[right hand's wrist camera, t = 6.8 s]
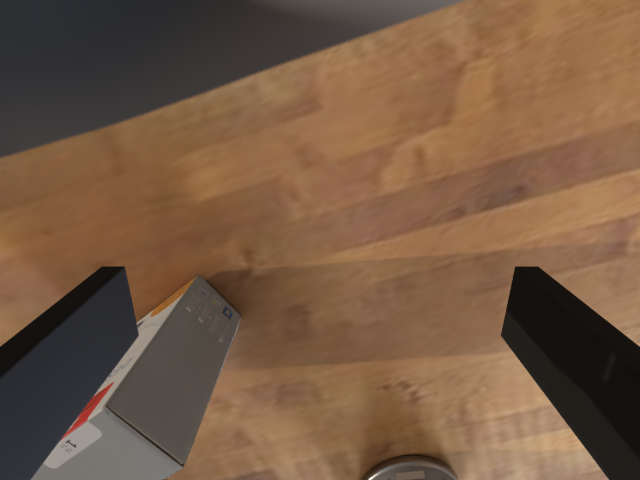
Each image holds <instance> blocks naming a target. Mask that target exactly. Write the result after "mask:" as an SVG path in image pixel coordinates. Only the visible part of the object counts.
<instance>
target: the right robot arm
mask: <svg viewBox="0 0 640 480" xmlns="http://www.w3.org/2000/svg"><path fill="white" fill-rule="evenodd" d="M138 336H139V333H138V328H137V323H136V319H135V314H134V309H133V304H132V299H131V294H130V290H129V285H128V280H127V275H126V270H125V267H101V268H100V269H98V270H97V271H96V272H95V273H93V274H92V275H91V276H89V277H88V278H87V279H86V280H84V281H83V282H82V283H81V284H79V285H78V286H77V287H76V288H74V289H73V290H72V291H70V292H69V293H68V294H67V295H65V296H64V297H63V298H62V299H60V300H59V301H58V302H57V303H55V304H54V305H53V306H51V307H50V308H49V309H48V310H46V311H45V312H44V313H43V314H41V315H40V316H39V317H37V318H36V319H35V320H34V321H32V322H31V323H30V324H29V325H27V326H26V327H25V328H24V329H22V330H21V331H20V332H18V333H17V334H16V335H15V336H13V337H12V338H11V339H10V340H8V341H7V342H6V343H5V344H3V345H2V346H1V347H0V480H31V479H32V477H33V476H34V475H35V473H36V472H37V471H38V469H39V468H40V467H41V465H42V464H43V463H44V461H45V460H46V459H47V457H48V456H49V455H50V453H51V452H52V451H53V449H54V448H55V447H56V445H57V444H58V443H59V441H60V440H61V439H62V437H63V436H64V435H65V433H66V432H67V431H68V430H69V428H70V427H71V426H72V424H73V423H74V422H75V420H76V419H77V418H78V416H79V415H80V414H81V412H82V411H83V410H84V408H85V407H86V406H87V404H88V403H89V402H90V400H91V399H92V398H93V396H94V395H95V394H96V392H97V391H98V390H99V388H100V387H101V386H102V384H103V383H104V382H105V380H106V379H107V378H108V376H109V375H110V374H111V372H112V371H113V370H114V368H115V367H116V366H117V364H118V363H119V362H120V360H121V359H122V358H123V356H124V355H125V354H126V352H127V351H128V350H129V348H130V347H131V346H132V344H133V343H134V342H135V340H136V339H137V338H138ZM501 336H502V338H503V339H504V340H505V342H506V343H507V344H508V346H509V347H510V348H511V350H512V351H513V352H514V354H515V355H516V356H517V358H518V359H519V360H520V362H521V363H522V364H523V366H524V367H525V368H526V370H527V371H528V372H529V374H530V375H531V376H532V378H533V379H534V380H535V382H536V383H537V384H538V386H539V387H540V388H541V390H542V391H543V392H544V394H545V395H546V396H547V398H548V399H549V400H550V402H551V403H552V404H553V406H554V407H555V408H556V410H557V411H558V412H559V414H560V415H561V416H562V418H563V419H564V420H565V422H566V423H567V424H568V426H569V427H570V428H571V430H572V431H573V432H574V434H575V435H576V436H577V437H578V439H579V440H580V441H581V443H582V444H583V445H584V447H585V448H586V449H587V451H588V452H589V453H590V455H591V456H592V457H593V459H594V460H595V461H596V463H597V464H598V465H599V467H600V468H601V469H602V471H603V472H604V473H605V475H606V476H607V477H608V479H609V480H640V347H639V346H638V345H637V344H635V343H634V342H633V341H632V340H630V339H629V338H628V337H627V336H625V335H624V334H623V333H622V332H620V331H619V330H618V329H616V328H615V327H614V326H613V325H611V324H610V323H609V322H608V321H606V320H605V319H604V318H602V317H601V316H600V315H599V314H597V313H596V312H595V311H594V310H592V309H591V308H590V307H589V306H587V305H586V304H585V303H583V302H582V301H581V300H580V299H578V298H577V297H576V296H575V295H573V294H572V293H571V292H570V291H568V290H567V289H566V288H564V287H563V286H562V285H561V284H559V283H558V282H557V281H556V280H554V279H553V278H552V277H551V276H549V275H548V274H547V273H545V272H544V271H543V270H542V269H540V268H539V267H515V270H514V275H513V280H512V285H511V290H510V294H509V299H508V304H507V309H506V314H505V319H504V323H503V328H502V333H501ZM362 480H458V478H457V476H456V474H455V473H454V471H453V470H452V469H451V468H450V467H449V466H447V465H446V464H444V463H443V462H441V461H439V460H436V459H433V458H430V457H425V456H414V455H412V456H401V457H396V458H392V459H389V460H386V461H384V462H382V463H380V464H378V465H376V466H375V467H373V468H372V469H371V470H370V471H369V472H367V474H366V475H365V476H364V477H363V479H362Z"/></svg>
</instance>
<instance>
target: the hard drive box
mask: <svg viewBox="0 0 640 480" xmlns="http://www.w3.org/2000/svg"><path fill="white" fill-rule="evenodd" d="M240 317H241V316H240V315H239V314H238V313H237V311H236V310H235V309H233V308H232V307H231V306H230V305H229V304H228V303H227V302H226V301H225V300H224V299H223V298H222V297H221V296H220V295H219V294H218V293H217V292H216V291H215V290H214V289H213V288H212V287H211V286H210V285H209V284H208V283H207V282H206V281H205V280H204V279H203V278H202V277H201V276H199V275H198V276H197V277H195V278H194V279H192V280H191V281H190V282H189V283H187V284H186V285H185V286H183V287H182V288H181V289H179V290H178V291H177V292H176V293H174V294H173V295H172V296H170V297H169V298H168V299H167V300H165V301H164V302H163V303H161V304H160V305H159V306H158V307H156V308H155V309H154V310H152V311H151V312H150V313H149V314H147V315H146V316H145V317H143V318H142V319H141V320H139V321H138V322H137V328H138V333H139V336H138V338H137V339H136V340H135V342H134V343H133V344H132V346H131V347H130V348H129V350H128V351H127V352H126V354H125V355H124V356H123V358H122V359H121V360H120V362H119V363H118V364H117V366H116V367H115V368H114V370H113V371H112V372H111V374H110V375H109V376H108V378H107V379H106V380H105V382H104V383H103V384H102V386H101V387H100V388H99V390H98V391H97V392H96V394H95V395H94V396H93V398H92V399H91V400H90V402H89V403H88V404H87V406H86V407H85V408H84V410H83V411H82V412H81V414H80V415H79V416H78V418H77V419H76V420H75V422H74V423H73V424H72V426H71V427H70V428H69V430H68V431H67V432H66V433H65V435H64V436H63V437H62V439H61V440H60V441H59V443H58V444H57V445H56V447H55V448H54V449H53V451H52V452H51V453H50V455H49V456H48V457H47V459H46V460H45V461H44V463H43V464H42V465H41V467H40V468H39V469H38V471H37V472H36V473H35V475H34V476H33V477H32V479H31V480H165V479H166V478H168V477H169V476H171V475H173V474H174V473H176V472H177V471H179V470H180V469H182V468H183V466H184V464H185V463H186V460H187V457H188V455H189V453H190V450H191V447H192V445H193V443H194V440H195V437H196V434H197V432H198V429H199V427H200V424H201V421H202V419H203V416H204V414H205V411H206V408H207V406H208V403H209V401H210V398H211V395H212V393H213V390H214V388H215V385H216V383H217V380H218V378H219V375H220V373H221V370H222V367H223V365H224V362H225V360H226V357H227V355H228V352H229V349H230V347H231V344H232V342H233V339H234V337H235V334H236V332H237V329H238V326H239V324H240V321H241V318H240Z"/></svg>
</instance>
